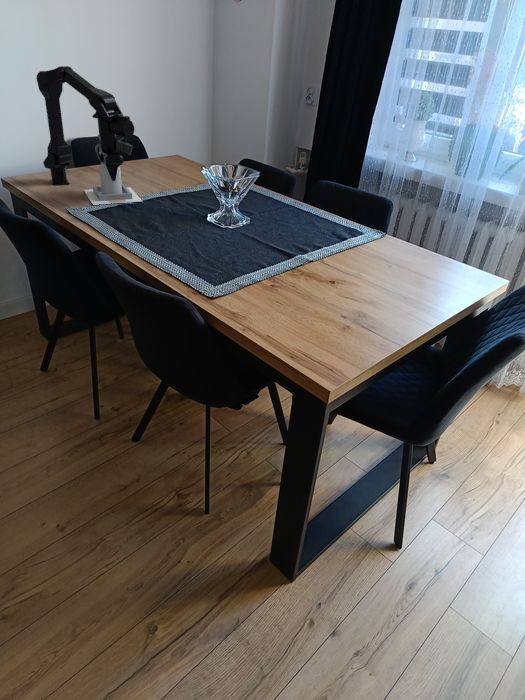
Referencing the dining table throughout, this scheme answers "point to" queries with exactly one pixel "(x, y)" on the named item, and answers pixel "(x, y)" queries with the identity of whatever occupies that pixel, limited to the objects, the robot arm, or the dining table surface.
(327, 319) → the dining table surface
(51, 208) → the dining table surface
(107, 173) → the can
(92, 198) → the collar plate
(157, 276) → the dining table surface
